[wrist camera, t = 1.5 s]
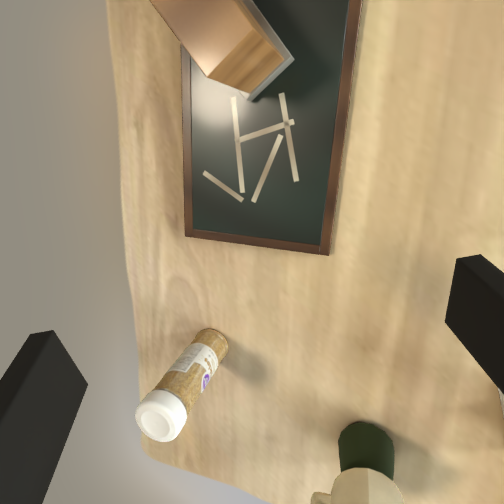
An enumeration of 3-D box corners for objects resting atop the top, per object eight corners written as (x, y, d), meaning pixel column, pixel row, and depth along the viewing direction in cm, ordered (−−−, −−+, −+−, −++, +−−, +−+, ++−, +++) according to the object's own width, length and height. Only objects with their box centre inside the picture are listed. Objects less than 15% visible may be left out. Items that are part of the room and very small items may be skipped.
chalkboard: (183, -45, 31) (178, -50, 30) (370, -61, 27) (370, -68, 26) (188, 234, 39) (184, 236, 38) (329, 253, 35) (329, 256, 35)
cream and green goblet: (320, 453, 44) (306, 570, 32) (319, 408, 42) (304, 516, 30) (412, 471, 41) (434, 607, 29) (417, 423, 39) (443, 550, 27)
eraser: (183, 11, 31) (102, -47, 21) (224, -39, 29) (154, -130, 19) (250, 102, 32) (202, 87, 22) (295, 60, 30) (263, 22, 20)
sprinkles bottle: (232, 358, 43) (183, 446, 31) (200, 358, 45) (141, 442, 33) (224, 326, 42) (170, 404, 30) (191, 327, 44) (127, 402, 31)
